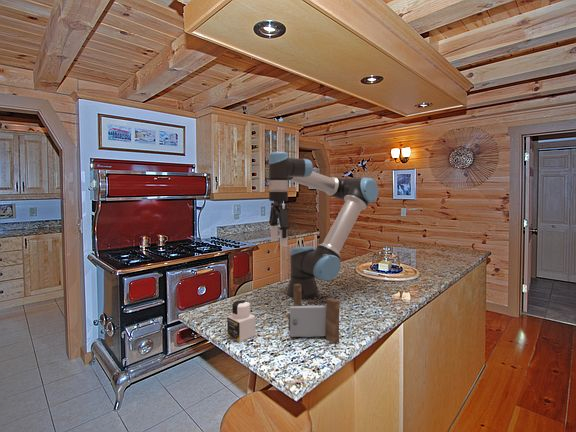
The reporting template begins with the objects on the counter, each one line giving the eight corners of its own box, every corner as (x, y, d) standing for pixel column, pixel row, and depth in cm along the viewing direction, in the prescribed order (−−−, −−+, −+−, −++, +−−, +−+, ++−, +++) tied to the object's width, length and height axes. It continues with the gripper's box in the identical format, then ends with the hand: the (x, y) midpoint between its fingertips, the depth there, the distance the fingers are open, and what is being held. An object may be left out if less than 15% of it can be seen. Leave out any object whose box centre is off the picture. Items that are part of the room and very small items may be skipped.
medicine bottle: (227, 335, 112) (226, 302, 111) (243, 329, 117) (243, 297, 116) (239, 342, 107) (238, 307, 106) (256, 335, 112) (255, 302, 111)
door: (290, 335, 111) (290, 304, 110) (328, 334, 112) (328, 303, 111) (290, 339, 108) (290, 307, 107) (330, 338, 109) (330, 306, 108)
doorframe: (298, 318, 127) (298, 283, 126) (339, 341, 107) (339, 300, 106) (293, 319, 125) (293, 284, 124) (333, 343, 106) (333, 302, 105)
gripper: (261, 191, 140) (262, 239, 141) (278, 191, 116) (278, 249, 118) (278, 191, 142) (278, 238, 144) (297, 191, 118) (297, 248, 120)
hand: (278, 243), depth 131 cm, fingers open, 13 cm apart
